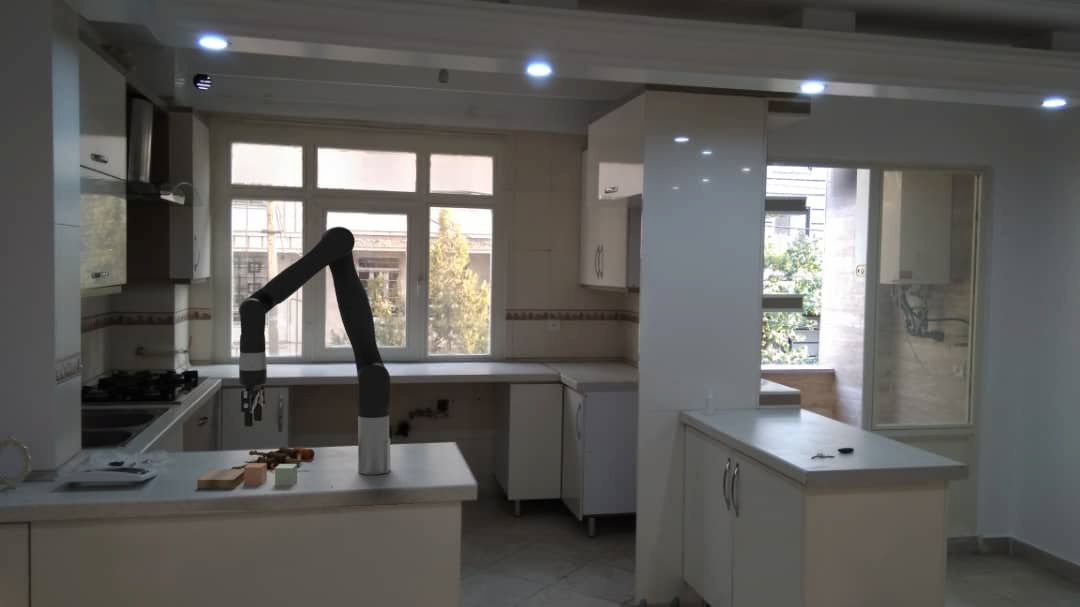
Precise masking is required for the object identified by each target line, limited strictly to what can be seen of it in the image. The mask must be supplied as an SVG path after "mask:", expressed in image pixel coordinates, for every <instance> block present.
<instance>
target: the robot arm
mask: <svg viewBox="0 0 1080 607" xmlns="http://www.w3.org/2000/svg"><path fill="white" fill-rule="evenodd" d="M355 243H356V239H355V235H354V234H353V233H352V231H351V230H350V229H348V228H346V227H344V226H332V227H331V228H328V229H326V230H325V231H324V233H323V234H322V236H321V239H320V240H319V241H318V243H317V244H316V245H315V246H314V247H313V248H311V250H310V251H308V252H307V253H306V254H304V256H302V257H300V258H299V259H297V261H295V262H293V263H292V264H290V265H289V266H287V267H286V268H284V269H283V270H282V271H280V272H279V273H278V274H276V276H274V277H272V279H270V280H269V281H268V282H267V283H266V284H265V285H264V286H263V287H262V288H260V289H258V290H257V291H255V292H253V293H252V294H251V295H249V296H248V297H247V298H246V299H244V300H243V301H242V302H241V303H240V305H239V306H238V314H239V317H240V318H239V320H240V335H239V336H240V337H239V358H238V359H239V360H238V375H239V376H238V378H239V379H238V381H239V382H238V383H239V385H241V386H245V390H241V392H240V412H241V413H243V414H244V417H243V418H244V419H243V420H244V426H245V427H248V428H249V427H253V426H254V421H255V422H261V421H263V408H264V405H265V404H266V386H265V384H267V382H268V380H267V379H268V378H267V374H268V373H267V372H268V370H267V367H268V366H267V360H268V359H267V355H266V353H267V352H266V333H265V332H266V321H267V318H266V317H267V313H269V312H270V311H271V310H272V309H274V307H276V306H277V305H281V304H282V303H284V302H285V301H286V300H288V299H289V298H290V297H291V296H292V295H293V294H295V293H296V292H297V291H298V290H299V289H301V288H302V287H303V286H304V285H306V283H308V281H310V280H311V279H312V278H313V277H314V276H316V275H317V274H318V273H319V272H321V271H322V270H323V269H325V268H326V267H329V270H330V273H331V277H332V281H333V287H334V288H333V289H334V294H335V297H336V302H337V308H338V311H339V315H340V318H341V322H342V325H343V328H344V331H345V333H346V336H347V338H348V340H349V343H350V345H351V346H350V347H352V348H351V349H352V351H353V356H354V361H355V368H356V374H357V375H356V377H357V382H358V406H357V411H358V412H357V413H358V414H357V415H358V416H357V424H358V426H357V429H358V432H357V433H358V434H357V435H358V436H357V440H358V441H357V444H358V445H357V446H358V447H357V449H358V452H357V453H358V455H357V456H358V458H357V462H358V463H357V468H358V471H357V472H358V473H359V474H363V475H368V476H369V475H370V476H371V475H381V474H388V473H389V471H390V470H391V438H390V406H391V376H390V373H389V371H388V368H386V366H385V364H384V362H383V359H382V357H381V354H380V351H379V348H378V345H377V339H376V338H377V337H376V328H375V320H374V315H373V310H372V308H371V303H370V299H369V296H368V293H367V292H366V289H365V287H364V285H363V283H362V281H361V278H360V277H359V274H358V272H357V268H356V264H355V259H354V255H353V254H354V253H353V250H354V247H355Z"/></svg>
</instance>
